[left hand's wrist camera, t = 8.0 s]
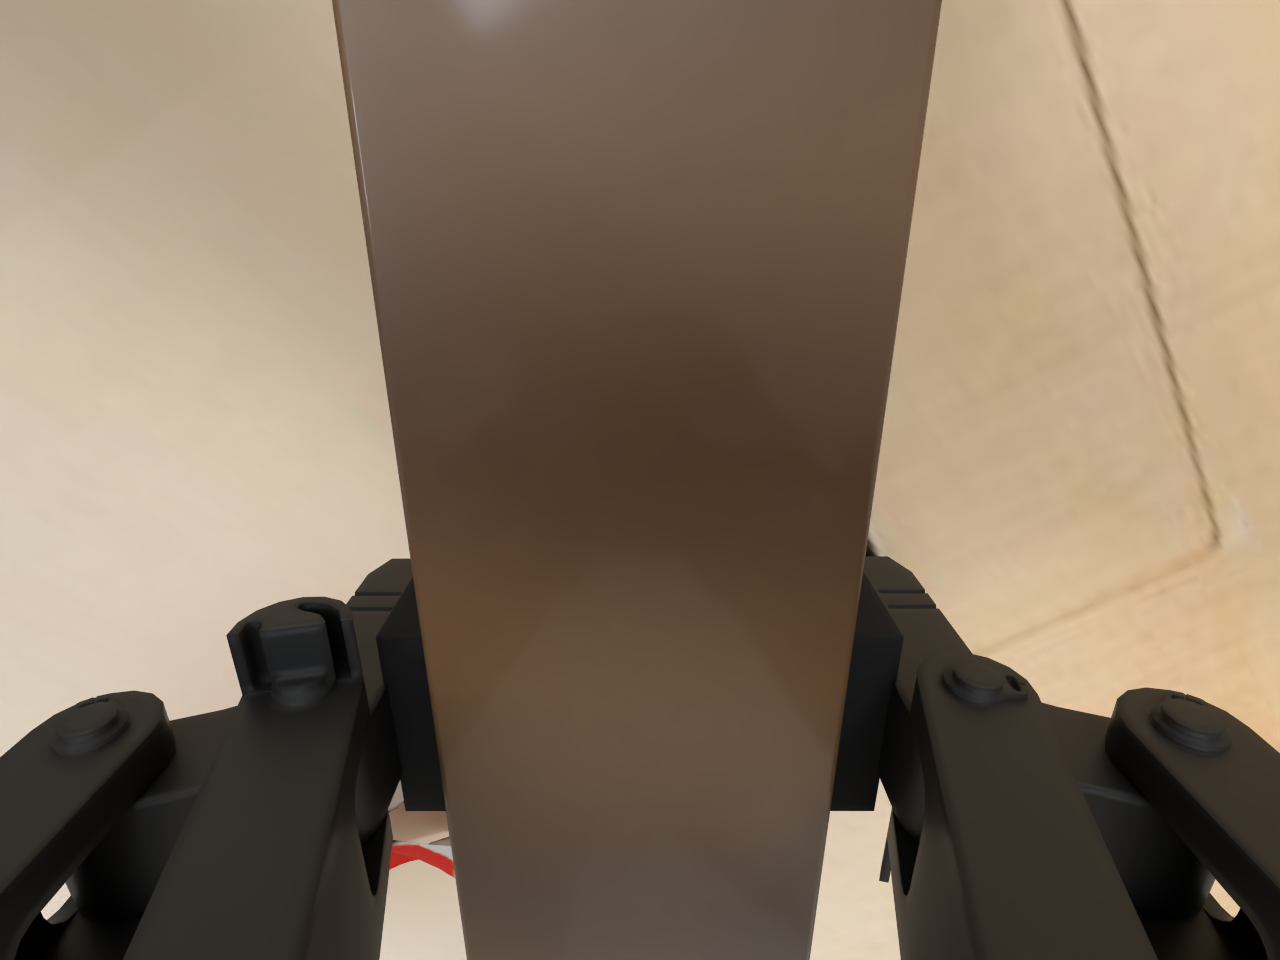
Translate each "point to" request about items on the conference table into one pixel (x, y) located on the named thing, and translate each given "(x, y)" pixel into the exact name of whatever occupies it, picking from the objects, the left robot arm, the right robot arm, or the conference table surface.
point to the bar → (637, 435)
